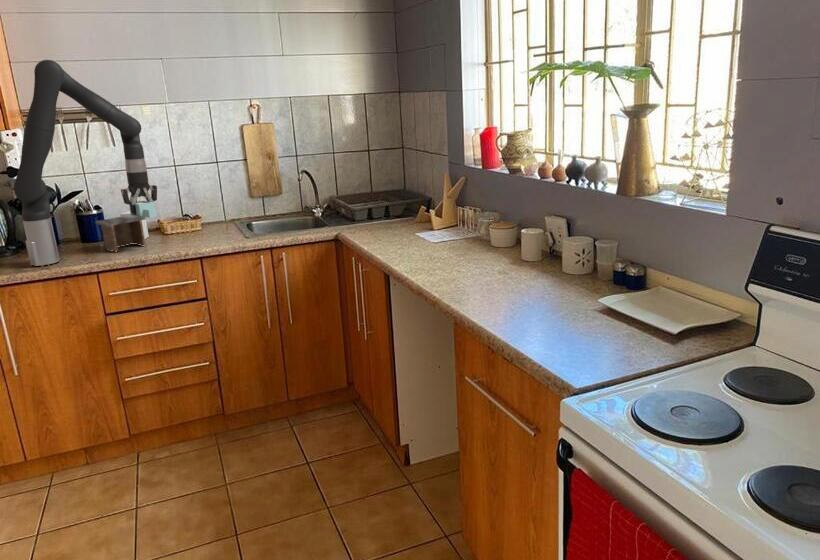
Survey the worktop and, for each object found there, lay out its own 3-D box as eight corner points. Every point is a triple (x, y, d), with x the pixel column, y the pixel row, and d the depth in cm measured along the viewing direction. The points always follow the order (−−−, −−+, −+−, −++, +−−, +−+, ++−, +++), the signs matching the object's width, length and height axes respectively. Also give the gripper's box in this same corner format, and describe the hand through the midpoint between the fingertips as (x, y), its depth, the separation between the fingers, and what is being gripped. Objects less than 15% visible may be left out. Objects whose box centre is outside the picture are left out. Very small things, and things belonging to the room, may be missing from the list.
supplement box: (149, 238, 286) (145, 209, 282) (141, 242, 279) (136, 213, 275) (133, 239, 287) (128, 210, 283) (124, 243, 280) (119, 213, 276)
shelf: (111, 253, 260) (106, 223, 257) (100, 250, 267) (95, 221, 263) (150, 245, 271) (145, 216, 268) (138, 242, 278) (133, 214, 275)
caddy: (160, 216, 257) (158, 203, 256) (146, 218, 253) (144, 205, 251) (145, 213, 265) (143, 200, 264) (130, 215, 261) (129, 202, 259)
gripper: (123, 173, 248) (129, 217, 252) (158, 169, 258) (164, 211, 263) (113, 172, 253) (120, 215, 257) (149, 168, 263) (155, 209, 267)
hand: (142, 213), depth 260 cm, fingers closed on caddy, 6 cm apart
